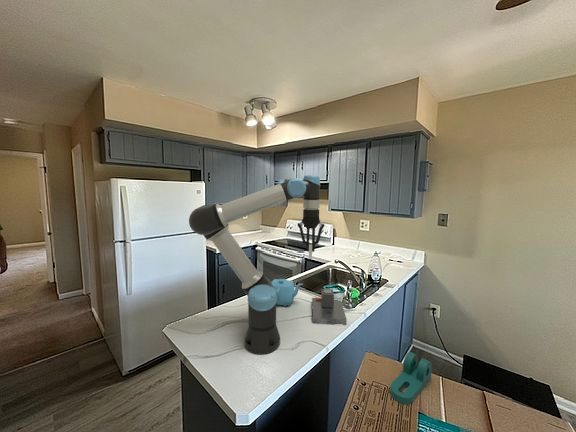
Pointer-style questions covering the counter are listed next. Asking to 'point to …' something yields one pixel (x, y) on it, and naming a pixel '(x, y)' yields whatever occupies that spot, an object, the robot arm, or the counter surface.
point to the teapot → (285, 291)
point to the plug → (327, 298)
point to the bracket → (411, 379)
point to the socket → (328, 313)
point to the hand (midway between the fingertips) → (310, 258)
